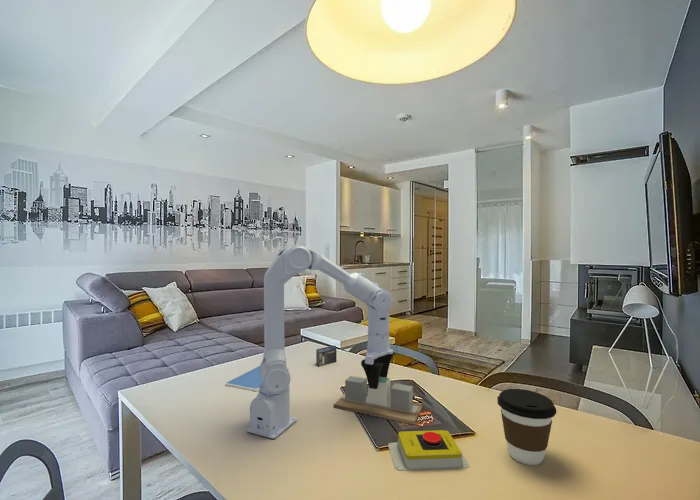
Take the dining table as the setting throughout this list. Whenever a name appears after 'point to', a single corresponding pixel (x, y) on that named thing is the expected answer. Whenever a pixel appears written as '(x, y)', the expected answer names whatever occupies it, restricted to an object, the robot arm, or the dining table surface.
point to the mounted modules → (399, 393)
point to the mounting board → (380, 411)
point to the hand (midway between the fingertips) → (378, 382)
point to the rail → (365, 402)
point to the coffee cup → (526, 424)
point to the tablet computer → (248, 380)
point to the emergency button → (426, 451)
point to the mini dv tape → (325, 355)
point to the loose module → (380, 392)
